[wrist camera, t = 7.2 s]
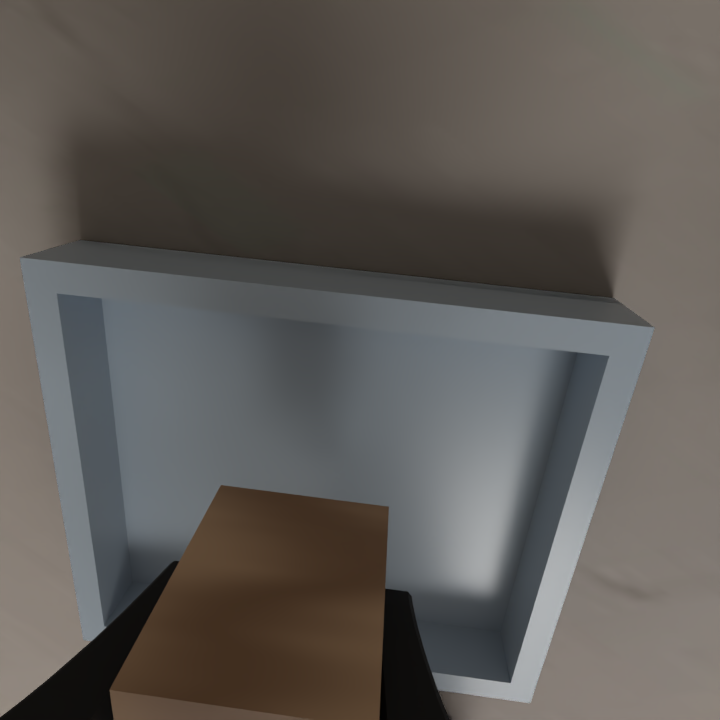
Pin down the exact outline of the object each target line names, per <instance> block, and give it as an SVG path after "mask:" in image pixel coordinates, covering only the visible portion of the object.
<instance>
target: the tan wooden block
mask: <svg viewBox="0 0 720 720" xmlns="http://www.w3.org/2000/svg"><path fill="white" fill-rule="evenodd" d="M388 516H389V507H388V506H380V505H372V504H364V503H357V502H349V501H341V500H333V499H326V498H318V497H310V496H302V495H295V494H287V493H279V492H271V491H264V490H256V489H248V488H240V487H233V486H225V485H221V486H220V488H219V489H218V491H217V493H216V495H215V497H214V499H213V500H212V502H211V504H210V506H209V508H208V510H207V511H206V513H205V515H204V517H203V519H202V521H201V522H200V524H199V526H198V528H197V530H196V532H195V534H194V535H193V537H192V539H191V541H190V543H189V545H188V546H187V548H186V550H185V552H184V554H183V556H182V557H181V559H180V561H179V563H178V565H177V567H176V568H175V570H174V572H173V574H172V576H171V578H170V579H169V581H168V583H167V585H166V587H165V589H164V590H163V592H162V594H161V596H160V598H159V600H158V602H157V603H156V605H155V607H154V609H153V611H152V613H151V614H150V616H149V618H148V620H147V622H146V624H145V625H144V627H143V629H142V631H141V633H140V635H139V636H138V638H137V640H136V642H135V644H134V646H133V647H132V649H131V651H130V653H129V655H128V657H127V659H126V660H125V662H124V664H123V666H122V668H121V670H120V671H119V673H118V675H117V677H116V679H115V681H114V682H113V684H112V686H111V688H110V690H109V691H110V698H111V705H112V712H113V719H114V720H379V715H380V693H381V671H382V649H383V627H384V605H385V582H386V560H387V538H388Z"/></svg>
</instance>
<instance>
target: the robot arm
mask: <svg viewBox="0 0 720 720" xmlns="http://www.w3.org/2000/svg"><path fill="white" fill-rule="evenodd" d="M178 563H179V561H173V562H172V563H170V564H169V565H168V566H167V567H166V568H165V569H164V570H163V571H162V572H161V574H160V575H159V576H158V577H157V578H156V579H155V580H154V581H153V582H152V583H151V584H150V585H149V586H148V587H147V588H146V589H145V590H144V591H143V592H142V593H141V594H140V595H139V596H138V597H137V598H136V599H135V600H134V601H133V602H132V603H131V604H130V605H129V606H128V607H127V608H126V609H125V610H124V611H123V612H122V613H121V614H120V615H119V616H118V617H117V618H116V619H115V620H113V621H112V622H111V623H110V624H109V625H108V626H107V627H106V628H105V629H104V630H103V631H102V632H101V633H100V634H99V635H98V636H97V637H96V638H94V639H93V640H92V641H91V642H90V643H89V644H88V645H87V646H86V647H85V648H83V649H82V650H81V651H80V652H79V653H78V654H77V655H75V656H74V657H73V658H72V659H71V660H70V661H69V662H67V663H66V664H65V665H64V666H63V667H62V668H61V669H59V670H58V671H57V672H56V673H55V674H54V675H53V676H51V677H50V678H49V679H48V680H47V681H45V682H44V683H43V684H42V685H41V686H39V687H38V688H37V689H36V690H34V691H33V692H32V693H31V694H30V695H28V696H27V697H26V698H25V699H23V700H22V701H21V702H19V703H18V704H17V705H16V706H14V707H13V708H12V709H10V710H9V711H8V712H7V713H5V714H4V715H3V716H1V717H0V720H114V719H113V712H112V705H111V698H110V691H109V690H110V688H111V686H112V684H113V682H114V681H115V679H116V677H117V675H118V673H119V671H120V670H121V668H122V666H123V664H124V662H125V660H126V659H127V657H128V655H129V653H130V651H131V649H132V647H133V646H134V644H135V642H136V640H137V638H138V636H139V635H140V633H141V631H142V629H143V627H144V625H145V624H146V622H147V620H148V618H149V616H150V614H151V613H152V611H153V609H154V607H155V605H156V603H157V602H158V600H159V598H160V596H161V594H162V592H163V590H164V589H165V587H166V585H167V583H168V581H169V579H170V578H171V576H172V574H173V572H174V570H175V568H176V567H177V565H178ZM379 720H449V718H448V716H447V713H446V711H445V708H444V705H443V703H442V700H441V697H440V695H439V692H438V689H437V686H436V683H435V680H434V678H433V675H432V672H431V669H430V666H429V663H428V660H427V657H426V654H425V650H424V647H423V643H422V640H421V636H420V633H419V629H418V625H417V621H416V617H415V612H414V607H413V601H412V596H411V595H410V594H409V592H408V591H401V590H393V589H385V605H384V627H383V649H382V671H381V693H380V715H379Z"/></svg>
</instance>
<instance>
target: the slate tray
mask: <svg viewBox="0 0 720 720" xmlns="http://www.w3.org/2000/svg"><path fill="white" fill-rule="evenodd" d="M20 262H21V268H22V274H23V280H24V286H25V292H26V298H27V304H28V310H29V316H30V322H31V328H32V334H33V340H34V346H35V352H36V358H37V364H38V370H39V376H40V382H41V388H42V394H43V400H44V406H45V412H46V418H47V424H48V430H49V436H50V442H51V448H52V454H53V460H54V466H55V472H56V478H57V484H58V490H59V496H60V502H61V508H62V514H63V520H64V526H65V532H66V538H67V544H68V550H69V556H70V562H71V568H72V574H73V580H74V586H75V592H76V598H77V604H78V610H79V616H80V622H81V628H82V634H83V640H87V641H92V640H93V639H94V638H96V637H97V636H98V635H99V634H100V633H101V632H102V631H103V630H104V629H105V628H106V627H107V626H108V625H109V624H110V623H111V622H112V621H113V620H115V619H116V618H117V617H118V616H119V615H120V614H121V613H122V612H123V611H124V610H125V609H126V608H127V607H128V606H129V605H130V604H131V603H132V602H133V601H134V600H135V599H136V598H137V597H138V596H139V595H140V594H141V593H142V592H143V591H144V590H145V589H146V588H147V587H148V586H149V585H150V584H151V583H152V582H153V581H154V580H155V579H156V578H157V577H158V576H159V575H160V574H161V572H162V571H163V570H164V569H165V568H166V567H167V566H168V565H169V564H170V563H172V562H173V561H180V559H181V557H182V556H183V554H184V552H185V550H186V548H187V546H188V545H189V543H190V541H191V539H192V537H193V535H194V534H195V532H196V530H197V528H198V526H199V524H200V522H201V521H202V519H203V517H204V515H205V513H206V511H207V510H208V508H209V506H210V504H211V502H212V500H213V499H214V497H215V495H216V493H217V491H218V489H219V488H220V486H221V485H225V486H233V487H240V488H248V489H256V490H264V491H271V492H279V493H287V494H295V495H302V496H310V497H318V498H326V499H333V500H341V501H349V502H357V503H364V504H372V505H380V506H388V507H389V516H388V538H387V560H386V582H385V589H393V590H401V591H408V592H409V594H410V595H411V596H412V601H413V607H414V612H415V617H416V621H417V625H418V629H419V633H420V636H421V640H422V643H423V647H424V650H425V654H426V657H427V660H428V663H429V666H430V669H431V672H432V675H433V678H434V680H435V683H436V686H437V689H438V690H440V691H447V692H454V693H461V694H468V695H475V696H483V697H490V698H497V699H504V700H511V701H518V702H525V703H531V700H532V697H533V694H534V691H535V688H536V685H537V682H538V678H539V675H540V672H541V669H542V666H543V663H544V660H545V657H546V654H547V651H548V648H549V645H550V642H551V639H552V636H553V633H554V630H555V627H556V624H557V621H558V618H559V615H560V612H561V609H562V606H563V603H564V600H565V597H566V594H567V591H568V588H569V585H570V582H571V579H572V576H573V573H574V570H575V567H576V564H577V561H578V558H579V555H580V552H581V549H582V546H583V543H584V540H585V537H586V534H587V531H588V528H589V524H590V521H591V518H592V515H593V512H594V509H595V506H596V503H597V500H598V497H599V494H600V491H601V488H602V485H603V482H604V479H605V476H606V473H607V470H608V467H609V464H610V461H611V458H612V455H613V452H614V449H615V446H616V443H617V440H618V437H619V434H620V431H621V428H622V425H623V422H624V419H625V416H626V413H627V410H628V407H629V404H630V401H631V398H632V395H633V392H634V389H635V386H636V383H637V380H638V377H639V374H640V370H641V367H642V364H643V361H644V358H645V355H646V352H647V349H648V346H649V343H650V340H651V337H652V334H653V331H654V327H653V326H652V325H650V324H649V323H648V322H646V321H645V320H643V319H642V318H641V317H639V316H638V315H637V314H635V313H634V312H633V311H631V310H630V309H628V308H627V307H626V306H624V305H623V304H622V303H620V302H619V301H618V300H616V299H615V298H610V297H601V296H591V295H582V294H573V293H564V292H554V291H545V290H536V289H527V288H518V287H508V286H499V285H490V284H481V283H472V282H462V281H453V280H444V279H435V278H426V277H416V276H407V275H398V274H389V273H380V272H370V271H361V270H352V269H343V268H333V267H324V266H315V265H306V264H297V263H287V262H278V261H269V260H260V259H251V258H241V257H232V256H223V255H214V254H205V253H195V252H186V251H177V250H168V249H158V248H149V247H140V246H131V245H122V244H112V243H103V242H94V241H85V240H79V241H75V242H72V243H68V244H65V245H61V246H58V247H54V248H51V249H47V250H44V251H40V252H37V253H33V254H30V255H27V256H23V257H20Z"/></svg>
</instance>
